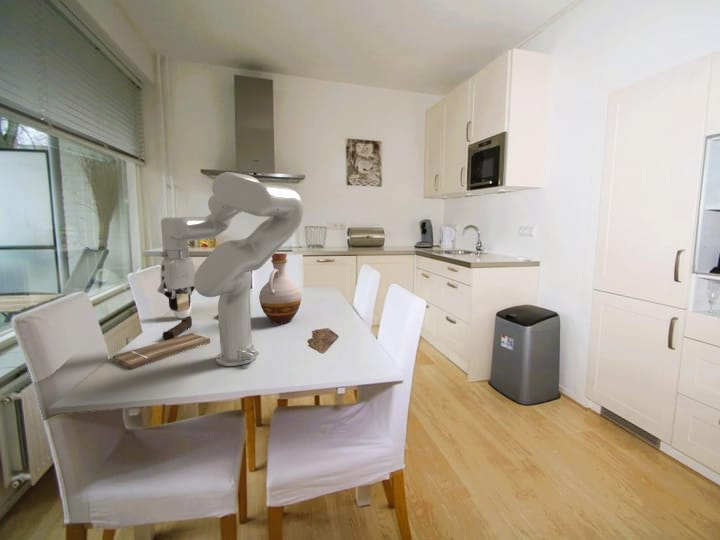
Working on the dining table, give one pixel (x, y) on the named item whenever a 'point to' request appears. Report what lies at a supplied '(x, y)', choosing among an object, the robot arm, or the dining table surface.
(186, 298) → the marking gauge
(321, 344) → the wooden fragment
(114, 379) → the dining table surface
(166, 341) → the board
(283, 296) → the jug
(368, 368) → the dining table surface
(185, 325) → the hand tool
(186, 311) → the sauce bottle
